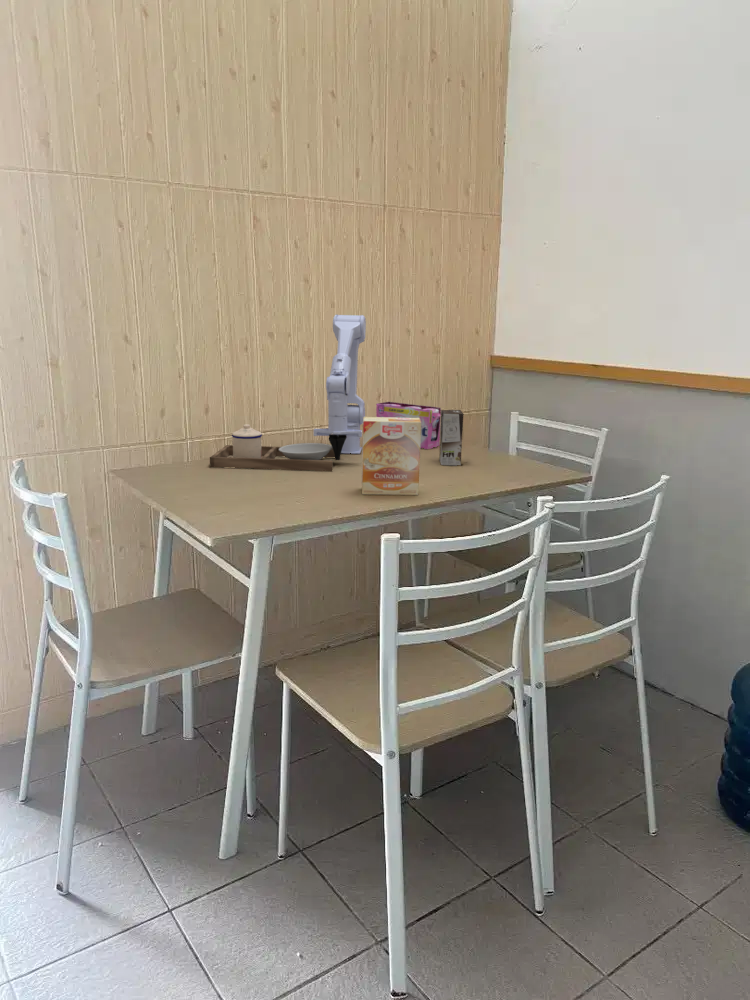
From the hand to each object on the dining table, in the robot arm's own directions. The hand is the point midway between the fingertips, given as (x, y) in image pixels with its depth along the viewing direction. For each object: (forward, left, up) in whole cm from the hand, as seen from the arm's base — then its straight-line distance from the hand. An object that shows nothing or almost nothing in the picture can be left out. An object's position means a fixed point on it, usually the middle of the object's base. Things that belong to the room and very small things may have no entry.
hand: (337, 459), depth 229 cm
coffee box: (-8, +34, -2) cm, 35 cm away
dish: (+1, -10, -2) cm, 10 cm away
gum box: (-37, +20, -2) cm, 42 cm away
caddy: (0, -19, -1) cm, 19 cm away
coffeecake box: (+31, +17, -2) cm, 36 cm away
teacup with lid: (0, -29, -2) cm, 29 cm away
